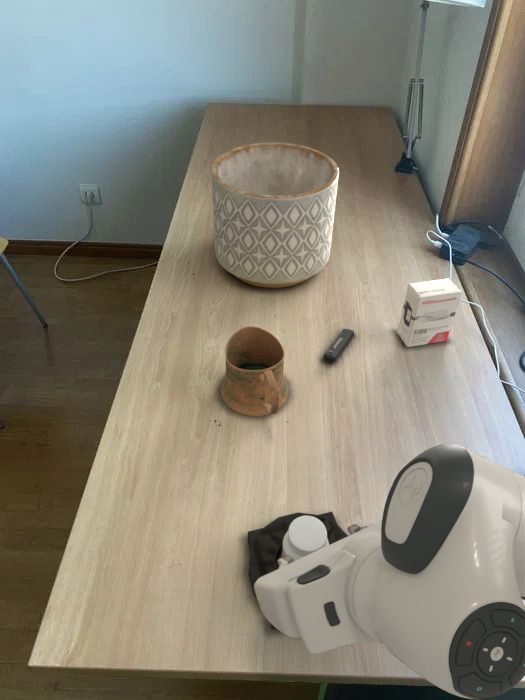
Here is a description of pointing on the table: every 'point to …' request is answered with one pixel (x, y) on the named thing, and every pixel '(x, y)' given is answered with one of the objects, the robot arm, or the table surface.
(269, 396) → the mug
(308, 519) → the pill bottle
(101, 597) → the table surface
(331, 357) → the usb stick
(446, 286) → the ink box
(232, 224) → the planter
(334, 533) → the base pad
